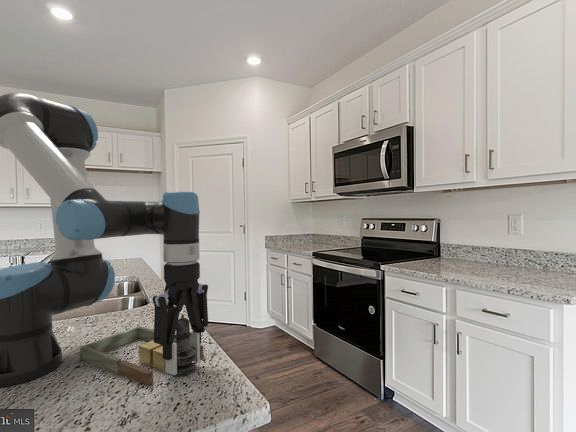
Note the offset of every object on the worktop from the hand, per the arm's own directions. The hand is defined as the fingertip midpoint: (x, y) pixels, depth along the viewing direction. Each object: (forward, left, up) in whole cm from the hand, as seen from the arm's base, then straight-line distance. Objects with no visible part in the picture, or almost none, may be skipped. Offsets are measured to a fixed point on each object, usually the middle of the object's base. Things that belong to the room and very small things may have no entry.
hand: (183, 366), depth 72 cm
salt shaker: (0, 0, -1) cm, 1 cm away
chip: (0, +11, -1) cm, 11 cm away
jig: (0, +14, -1) cm, 14 cm away
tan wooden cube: (0, +6, -1) cm, 6 cm away
